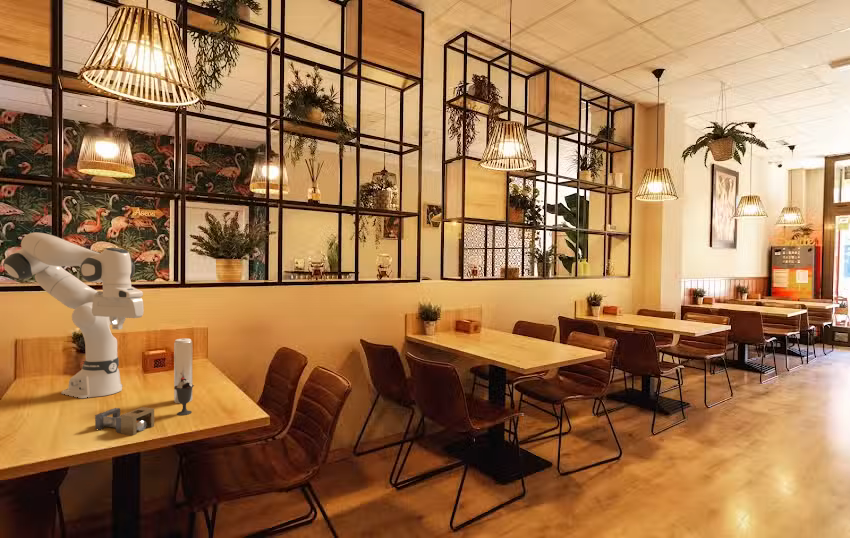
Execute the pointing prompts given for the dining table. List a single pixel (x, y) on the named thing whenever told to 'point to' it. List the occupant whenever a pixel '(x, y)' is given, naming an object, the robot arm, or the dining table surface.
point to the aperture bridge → (130, 420)
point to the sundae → (184, 394)
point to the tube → (112, 422)
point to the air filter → (182, 363)
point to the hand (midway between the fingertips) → (117, 329)
